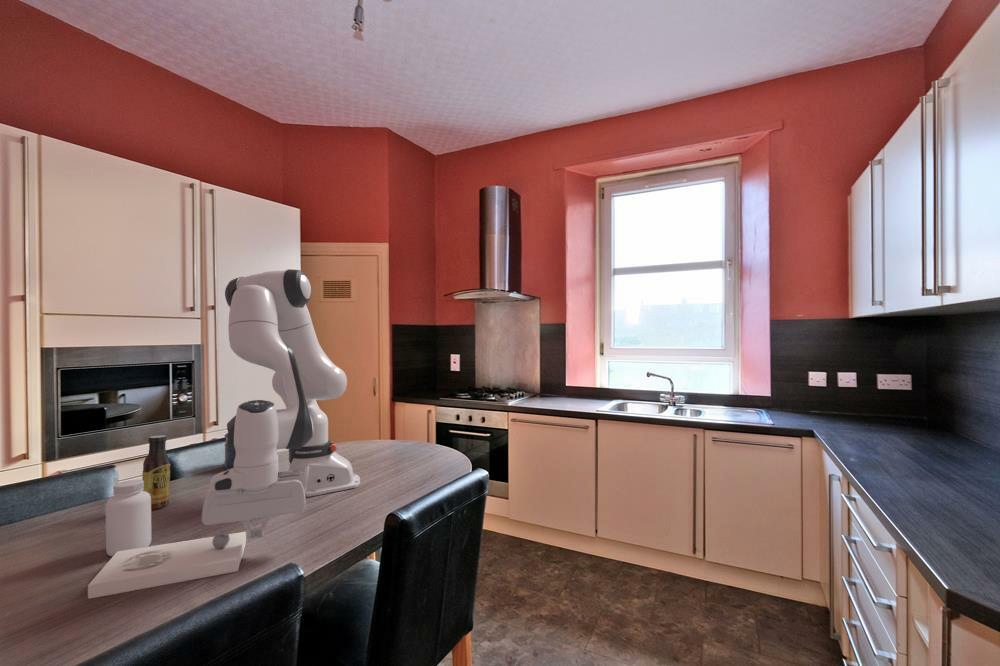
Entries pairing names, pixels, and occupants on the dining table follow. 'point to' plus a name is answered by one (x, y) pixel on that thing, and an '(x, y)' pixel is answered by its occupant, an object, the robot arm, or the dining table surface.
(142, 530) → the pill bottle
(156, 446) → the sauce bottle
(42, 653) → the dining table surface
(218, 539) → the ball
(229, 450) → the canister
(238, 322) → the robot arm
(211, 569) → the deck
